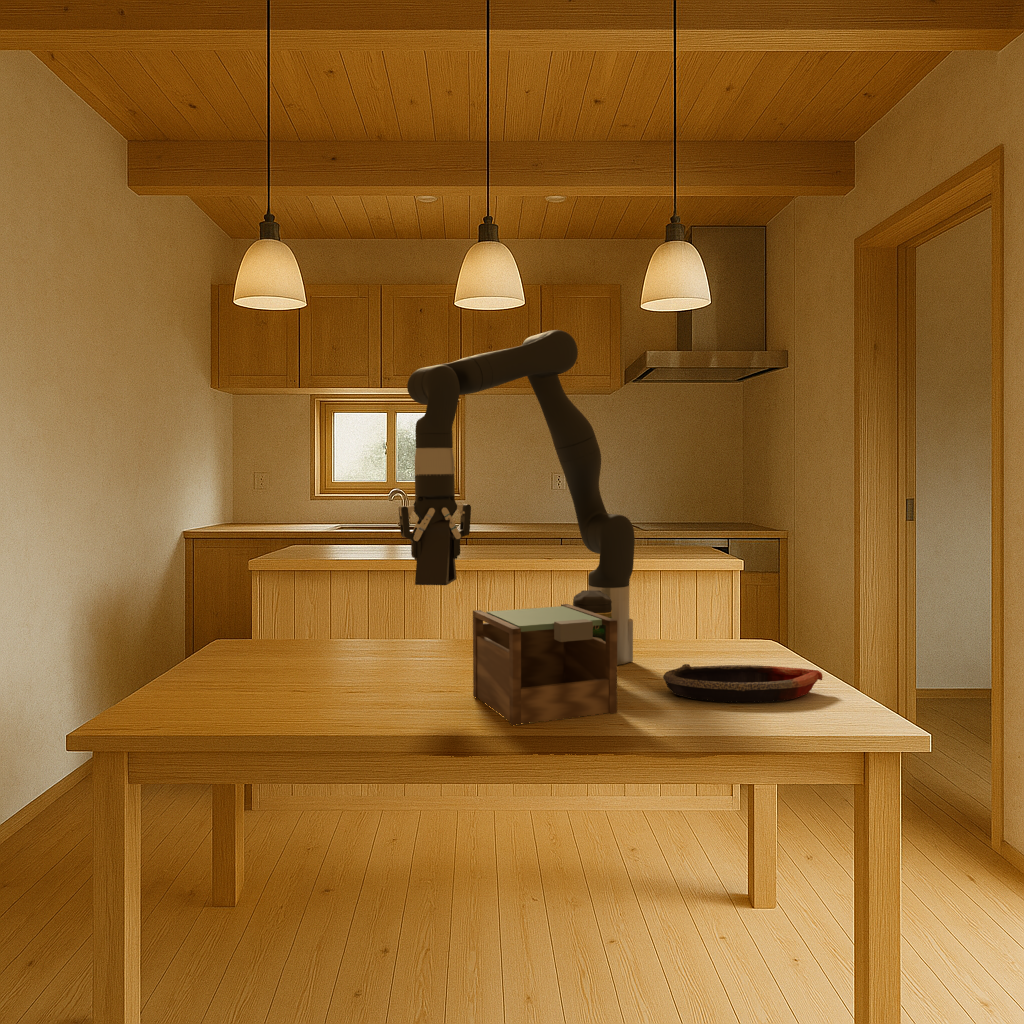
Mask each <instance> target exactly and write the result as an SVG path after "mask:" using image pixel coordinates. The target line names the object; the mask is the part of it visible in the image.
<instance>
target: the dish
mask: <svg viewBox="0 0 1024 1024" xmlns="http://www.w3.org/2000/svg"><path fill="white" fill-rule="evenodd" d="M662 678H663V681H664V682H665V684H666V686H667V688H668V689H669V690H670V691H671V692H672V694H675V695H676V696H679V697H684V698H687V699H692V700H698V701H706V702H715V703H716V702H717V703H738V704H739V703H745V704H746V703H747V704H748V703H751V704H752V703H774V702H783V701H784V702H785V701H791V700H793V699H796V698H799V697H802V696H805V695H807V694H809V693H810V691H812V689H813V687H814V685H815V684H816V683H817V682H818V680H820V681H822V680H823V673H822V672H821V671H820V670H817V669H816V670H815V669H809V668H802V667H800V668H799V667H788V666H787V667H786V666H777V665H756V664H754V665H753V664H751V665H748V664H746V665H745V664H744V665H742V664H732V665H731V664H730V665H726V664H725V665H700V666H698V665H697V666H691V665H690V664H688V663H686V664H685V663H684V664H682V665H681V666H680V667H678V668H674V669H671V670H668V671H666V672H665V673H663V675H662Z"/></svg>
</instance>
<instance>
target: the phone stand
mask: <svg viewBox="0 0 1024 1024" xmlns="http://www.w3.org/2000/svg"><path fill="white" fill-rule="evenodd" d="M421 522H422V521H421V520H419V524H420V523H421ZM449 525H450V520H439V521H436V522H435V523H433V524H432V525H431V526H429V525H427V527H426V529H425V530H424V531H423V533H422V535H421V537H420V539H419V541H421V555H420V556H419V558H418V559H417V561H416V567H415V578H414V584H415V586H448V585H449V584H451V583H453V582H454V581H456V580H457V568H456V567H457V566H456V559H452V558H453V534H452V532H451V530H450V529H449Z"/></svg>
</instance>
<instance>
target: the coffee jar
mask: <svg viewBox="0 0 1024 1024" xmlns="http://www.w3.org/2000/svg"><path fill="white" fill-rule="evenodd" d="M572 600H573V601H572V606H575V607H578V608H581V609H584V610H587V611H590V612H593V613H596V614H599V615H602V616H605V617H608V618H611V619H612V605H611V603H612V601H611V599H610V597H609V596H608V595H606V594H604V593H602V592H601V591H598V590H588V589H587V590H581V591H580V592H579V593H577V594H575V595H574V596H573V599H572ZM593 637H595V638H597V639H600V640H602V641H605V642H606V625H603V624H602V625H597V626H593Z"/></svg>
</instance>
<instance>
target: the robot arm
mask: <svg viewBox="0 0 1024 1024" xmlns="http://www.w3.org/2000/svg"><path fill="white" fill-rule="evenodd" d="M578 351H579V350H578V345H577V342H576V340H575V338H574V337H573V336H572V335H571V334H570V333H568V332H567V331H564V330H559V329H554V330H548V331H544V332H542V333H541V332H540V333H538V334H535V335H531V336H529V337H527V338H525V340H524V341H523V343H522V344H521V345H519V346H514V347H510V348H505V349H499V350H494V351H488V352H484V353H478V354H475V355H472V356H471V355H470V356H467V357H463V358H460V359H458V360H455V361H452V362H448V363H447V362H446V363H442V364H441V363H440V364H436V365H432V366H431V365H430V366H426V367H421V368H418V369H416V370H415V371H413V372H412V373H411V375H410V376H409V378H408V379H407V380H408V381H407V384H406V388H407V389H406V390H407V393H408V395H409V397H410V399H412V400H413V401H414V402H416V403H417V404H420V405H424V406H425V405H426V409H425V414H424V415H423V416H422V417H421V418H419V419H417V421H416V423H415V453H414V454H415V455H414V503H413V504H412V505H407V506H405V505H400V506H399V507H398V517H399V519H398V520H399V527H400V528H399V529H400V530H399V531H400V536H401V537H402V538H404V539H407V540H410V547H411V548H410V556H411V557H412V558H413V559H414V561H416V562H417V559H418V558H419V556H420V555H421V541H419V539H420V537H421V535H422V533H423V531H424V530H425V529H426V527H427V525H429V526H431V525H432V524H433V523H435V522H436V521H439V520H450V525H449V529H450V530H451V532H452V534H453V558H452V559H455V560H457V559H458V557H459V556H461V555H460V554H461V540H462V538H463V537H465V536H470V532H471V513H472V506H471V504H467V503H463V504H457V502H456V500H455V498H456V497H455V495H456V493H455V490H456V489H455V483H456V482H455V481H456V480H455V470H456V467H455V457H454V449H453V448H454V445H453V444H454V443H453V442H454V438H453V435H454V434H453V426H454V422H455V417H456V413H457V408H458V403H459V398H460V396H462V395H470V394H475V393H480V392H482V391H485V390H489V389H492V388H493V389H494V388H495V387H498V386H501V385H504V384H506V383H509V382H514V381H516V380H518V379H521V378H525V377H527V379H528V381H529V383H530V385H531V388H532V391H533V393H534V395H535V397H536V399H537V401H538V403H539V405H540V409H541V412H542V414H543V417H544V420H545V421H546V425H547V427H548V430H549V433H550V436H551V439H552V442H553V446H554V450H555V452H556V456H557V458H558V460H559V464H560V466H561V469H562V472H563V475H564V478H565V480H566V483H567V487H568V490H569V493H570V496H571V500H572V503H573V506H574V511H575V515H576V519H577V525H578V531H579V533H580V537H581V539H582V542H583V544H584V547H586V549H588V550H589V551H590V552H592V553H595V554H597V555H598V554H599V562H598V565H597V567H596V568H595V569H594V570H591V571H590V572H589V573H588V577H587V578H588V579H587V581H588V582H587V590H598V591H601V592H602V593H604V594H606V595H608V596H609V597H610V599H611V601H612V603H611V605H612V619H614V620H617V666H618V665H620V666H621V665H625V664H628V663H632V662H634V620H633V618H630V579H631V576H632V574H633V572H634V571H633V570H634V560H635V541H636V539H635V530H634V526H633V523H632V522H631V520H630V519H629V518H628V517H627V516H625V515H622V514H617V513H614V514H613V513H608V512H607V509H606V507H605V504H604V501H603V498H602V495H601V492H600V476H601V470H602V454H601V450H600V446H599V443H598V440H597V436H596V434H595V431H594V428H593V426H592V425H591V423H590V421H589V420H588V419H587V417H586V416H585V415H584V414H583V413H582V412H581V411H580V409H578V408H577V406H576V405H575V404H574V403H573V402H572V401H571V400H570V399H569V397H568V396H567V394H566V392H565V390H564V388H563V386H562V383H561V381H560V378H559V375H561V374H564V373H566V372H568V371H569V370H571V369H572V368H573V367H574V366H575V365H576V362H577V360H578V355H579V354H578V353H579V352H578ZM413 512H414V513H415V514H416V517H418V519H417V521H416V522H415V524H414V527H413V530H412V531H411V529H410V525H411V524H410V518H411V516H412V514H413ZM456 512H457V513H458V515H459V516H460V521H459V529H458V527H457V525H456V523H455V521H454V519H453V516H454V515H455V513H456ZM419 520H421V521H422V522H421V523H420V524H419Z"/></svg>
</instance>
